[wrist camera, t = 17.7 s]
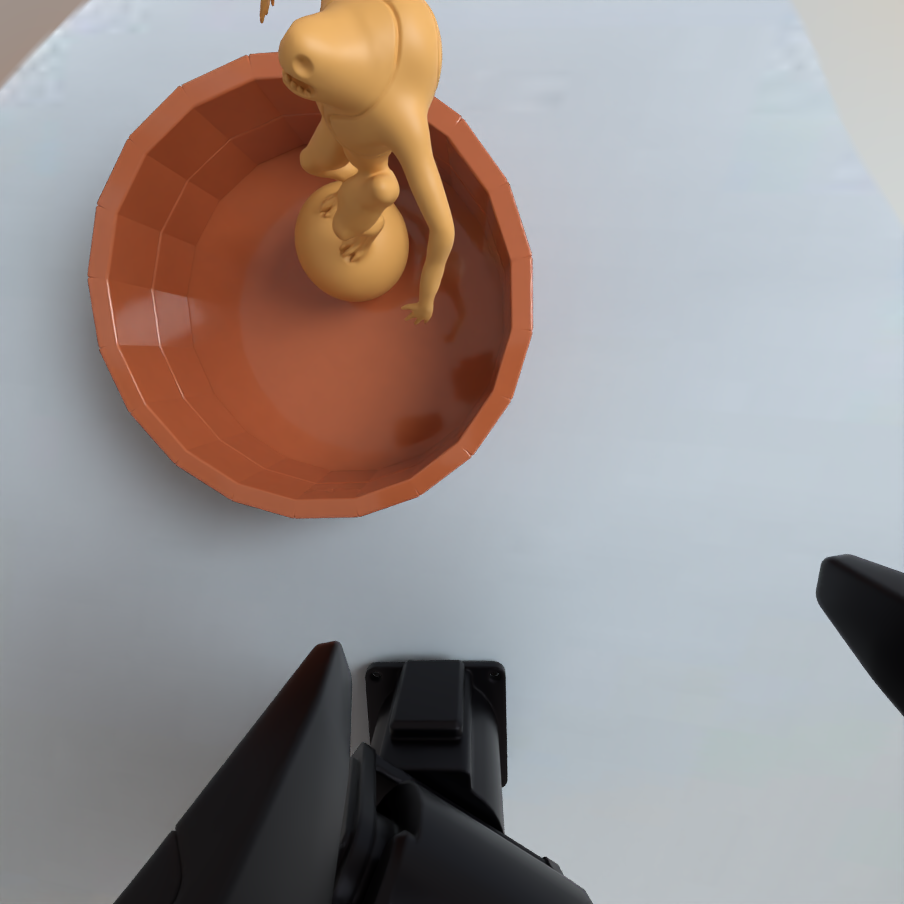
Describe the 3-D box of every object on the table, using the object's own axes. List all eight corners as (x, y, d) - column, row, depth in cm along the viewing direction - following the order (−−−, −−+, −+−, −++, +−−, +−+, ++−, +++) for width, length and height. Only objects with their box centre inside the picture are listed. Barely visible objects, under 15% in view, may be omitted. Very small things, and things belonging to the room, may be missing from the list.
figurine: (270, 178, 19) (-55, -114, 7) (408, 100, 18) (292, -365, 7) (369, 373, 20) (225, 390, 9) (501, 306, 20) (544, 226, 8)
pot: (520, 478, 21) (534, 514, 16) (203, 486, 22) (126, 523, 17) (516, 117, 19) (531, 32, 14) (157, 140, 20) (51, 66, 15)
